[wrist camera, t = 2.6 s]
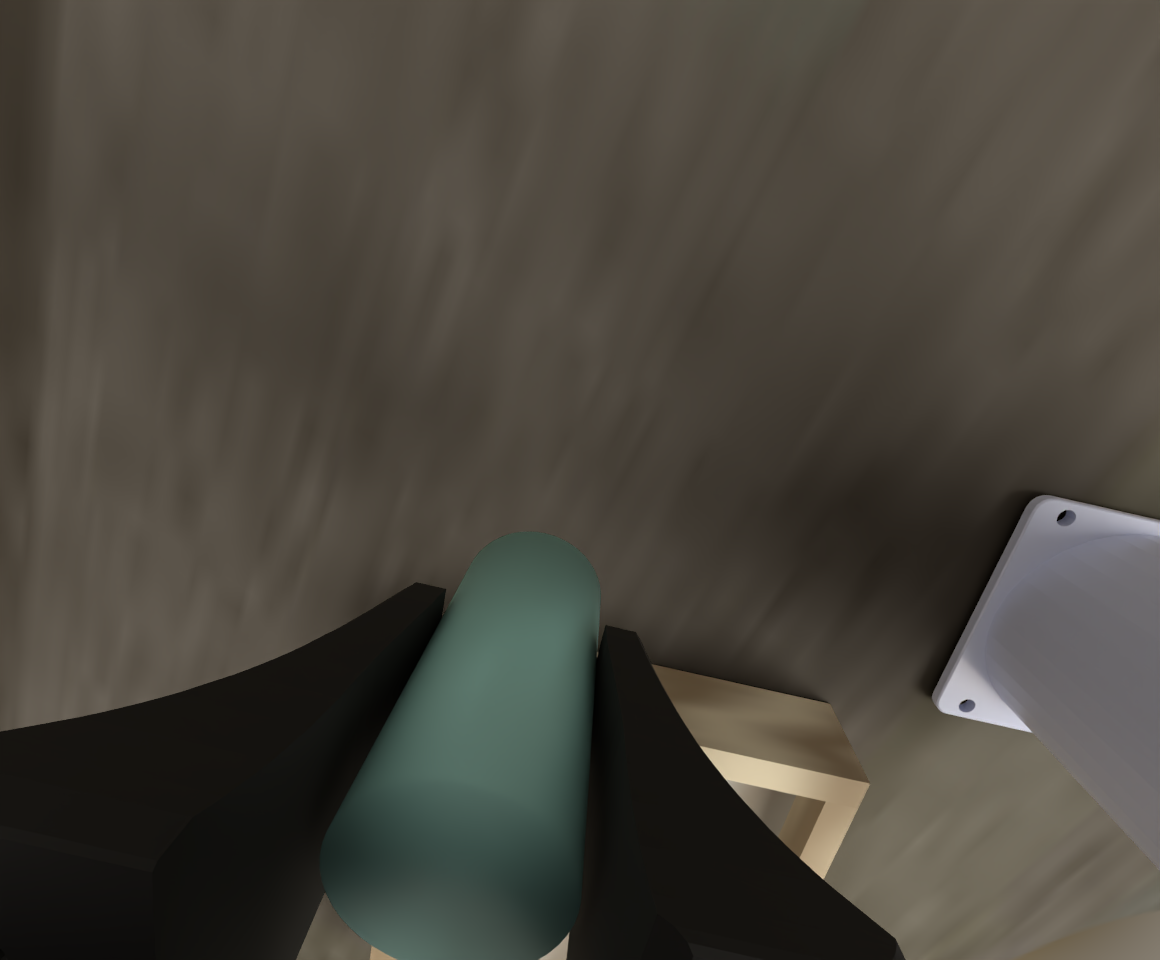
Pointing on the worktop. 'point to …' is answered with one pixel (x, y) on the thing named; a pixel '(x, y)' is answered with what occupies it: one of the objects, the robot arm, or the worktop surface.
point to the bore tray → (769, 763)
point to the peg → (480, 771)
